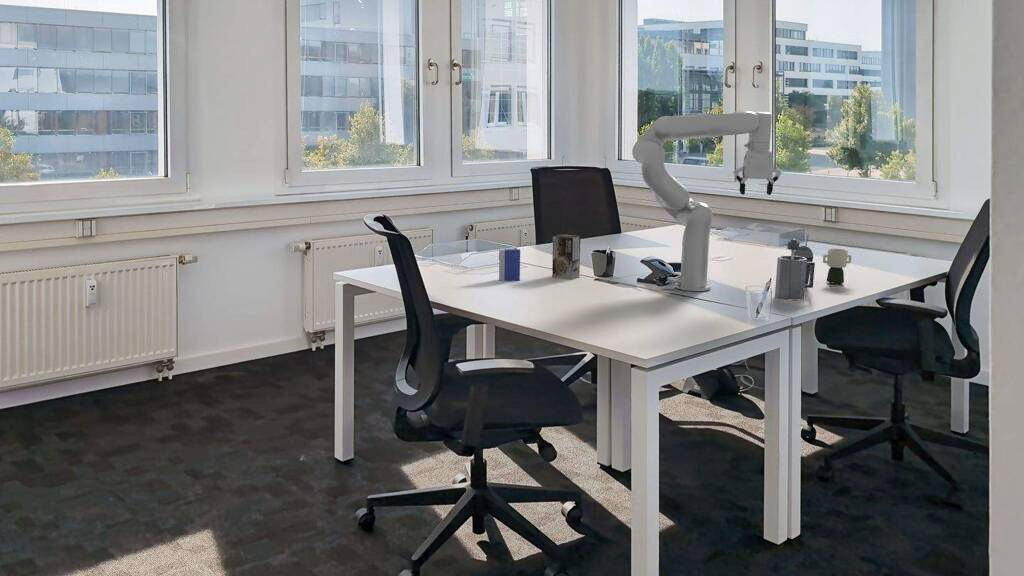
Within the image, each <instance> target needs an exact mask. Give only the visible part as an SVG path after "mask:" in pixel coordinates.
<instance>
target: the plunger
mask: <svg viewBox="0 0 1024 576" xmlns="http://www.w3.org/2000/svg"><path fill="white" fill-rule="evenodd" d="M799 247H800V241H797V239H796V238H792V239H790V240H789V241H787V246H786V249H787V250H791V252H790V254H791V255H790V256H791V260H794V252H795V250H799Z"/></svg>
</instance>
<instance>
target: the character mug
mask: <svg viewBox="0 0 1024 576" xmlns="http://www.w3.org/2000/svg"><path fill="white" fill-rule="evenodd" d="M822 263H823V264H826V265H827V266H828V267H829V269H828V273H827V276H826V282H827V283H830V284H831V285H832V284H835V285H836V284H837V285H838V284H844V283H845V273H844V272H845V271H844V269H843V268H846V267H847V264H851V263H852V254H849V253H848V250H847V249H843V248H829V249H828V250H827V254H824V255H823V256H822Z"/></svg>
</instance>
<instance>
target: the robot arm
mask: <svg viewBox="0 0 1024 576" xmlns="http://www.w3.org/2000/svg"><path fill="white" fill-rule="evenodd" d="M772 116H773V115H772V113H770V112H769V111H767V112H766V111H763V112H762V111H754V112H753V111H746V110H745V111H744V110H741V111H740V110H739V111H738V110H737V111H733V112H731V113H708V112H704V113H703V112H702V113H694V114H693V113H692V114H685V115H684V114H683V115H673V116H671V115H663V116H659V118H657V119H656V120H655V121H653V123H652V124H651V125H650V126H649V127H648V129H646V131H645V132H644V133H642V135H641V136H640V137H639V138H638V139H637V141H636V142H635V143H634V145H633V146H632V149H631V150H632V151H631V152H632V158H633V159H634V161H636V162H637V163H640V164H641V175H642V179H643V181H644V183H645V185H646V186H647V187H648V188H649V189H650V190H651V191H652V192H653V193H654V197H655V201H656V203H658V205H659V206H660V207H661V208H662V209H663V210H664V211H665V212H667V213H668V214H669V215H670V216H671V217H672V218H673V219H675V220H676V221H677V222H678V223H680V224H681V225H684V226H685V227H684V230H683V235H682V240H681V241H682V243H681V266H680V274H678V276H676V277H673V276H667V283H672V284H675V288H676V289H678V290H681V291H686V292H687V291H688V292H707V291H711V289H712V285H710V284H709V283H708V267H709V252H710V250H709V248H710V236H711V230H712V225H713V222H714V221H713V219H714V217H713V216H714V215H713V210H712V209H711V208H710V206H709V205H707V204H706V203H704V202H701V201H696V200H693V199H692V198H691V195H690V192H689V190H688V189H687V187H685V186H684V185H683V184H682V183H681V182H679V181H678V179H676V178H675V177H674V176H673V175H672V174H671V173H670V172H669V171H668V169H666V166H665V159H666V157H665V156H666V151H665V148H664V145H665V143H667V142H668V141H673V142H674V141H683V140H691V139H692V140H693V139H703V138H704V139H706V138H714V137H724V136H736V135H745V134H746V135H747V134H748V141H747V143H744V146H743V147H744V148H747V150H746V151H745V155H744V156H743V157H744V159H743V163H742V166H741V167H737V169H734V170H733V171H732V173H733V175H734V178H735V179H736V180H737V181H738V183H739V193H740V194H741V195H742V196H743V195H746V194H745V193H746V183H745V182H747V180H748V179H753V180H763V179H764V180H766V181H767V182H768V183H767V184H766V195H768V196H771V195H772V193H773V191H774V190H773V188H774V184H775V183H776V181H778V179H779V178H780V176H781V174H782V172H781V170H779V169H777V168H775V167H774V163H773V162H774V161H773V159H774V156H773V151H772V150H770V148H771V147H770V146H771V133H772V121H773V119H772V118H773V117H772ZM739 173H742V174H741V175H742V176H740V175H739ZM774 173H775V175H773V174H774Z"/></svg>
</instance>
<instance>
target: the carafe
mask: <svg viewBox="0 0 1024 576" xmlns="http://www.w3.org/2000/svg"><path fill="white" fill-rule="evenodd" d="M776 261H777V262H776V274H775V287H774V289H775V291H774V297H776V298H777V297H778V298H777V299H781V298H783V299H782V300H787V299H800V300H802V298H803V299H805V291H806V289H809V288H810V289H812V288H813V287H814V278H815V266H816V264H815V263H816V262H815V261H812V262H807V259H806V258H804V257H799V256H794V260H791V255H780V256H777V259H776ZM807 265H811V267H810V275H809V281H808V284H805V281H806V268H807ZM805 288H806V289H805Z"/></svg>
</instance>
